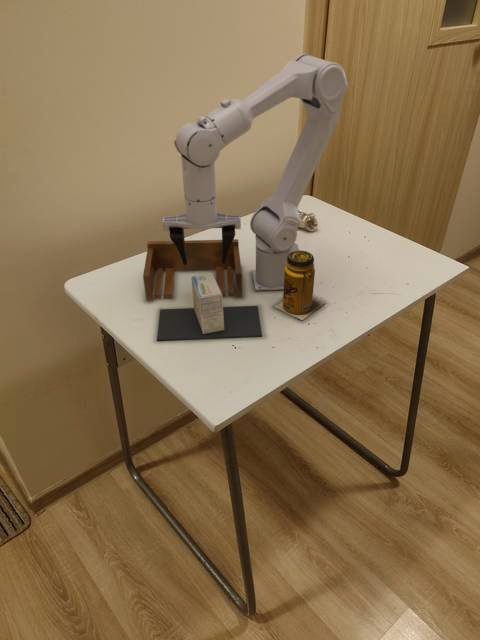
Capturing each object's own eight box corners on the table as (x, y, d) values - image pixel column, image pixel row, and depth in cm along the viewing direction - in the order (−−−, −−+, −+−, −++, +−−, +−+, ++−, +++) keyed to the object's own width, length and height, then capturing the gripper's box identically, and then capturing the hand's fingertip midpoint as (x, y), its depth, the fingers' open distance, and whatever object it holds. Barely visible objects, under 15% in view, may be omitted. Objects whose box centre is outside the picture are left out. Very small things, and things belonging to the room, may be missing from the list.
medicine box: (224, 331, 97) (223, 293, 91) (202, 335, 96) (199, 297, 90) (215, 308, 102) (213, 272, 97) (194, 312, 101) (190, 275, 96)
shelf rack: (238, 266, 116) (238, 239, 112) (242, 297, 107) (241, 268, 102) (151, 269, 114) (147, 241, 110) (146, 301, 105) (142, 271, 100)
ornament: (324, 227, 133) (326, 214, 131) (307, 235, 129) (308, 221, 127) (303, 217, 137) (304, 204, 135) (285, 224, 134) (286, 211, 131)
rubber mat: (257, 307, 104) (257, 305, 104) (262, 336, 96) (262, 335, 96) (160, 310, 102) (160, 309, 102) (157, 341, 94) (156, 339, 94)
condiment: (274, 307, 104) (276, 256, 96) (298, 291, 109) (302, 241, 101) (301, 321, 101) (306, 269, 93) (326, 303, 106) (332, 253, 98)
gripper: (238, 186, 95) (239, 250, 104) (161, 187, 93) (168, 252, 102) (241, 201, 89) (241, 268, 98) (159, 203, 88) (167, 270, 97)
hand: (204, 261), depth 100 cm, fingers open, 7 cm apart
